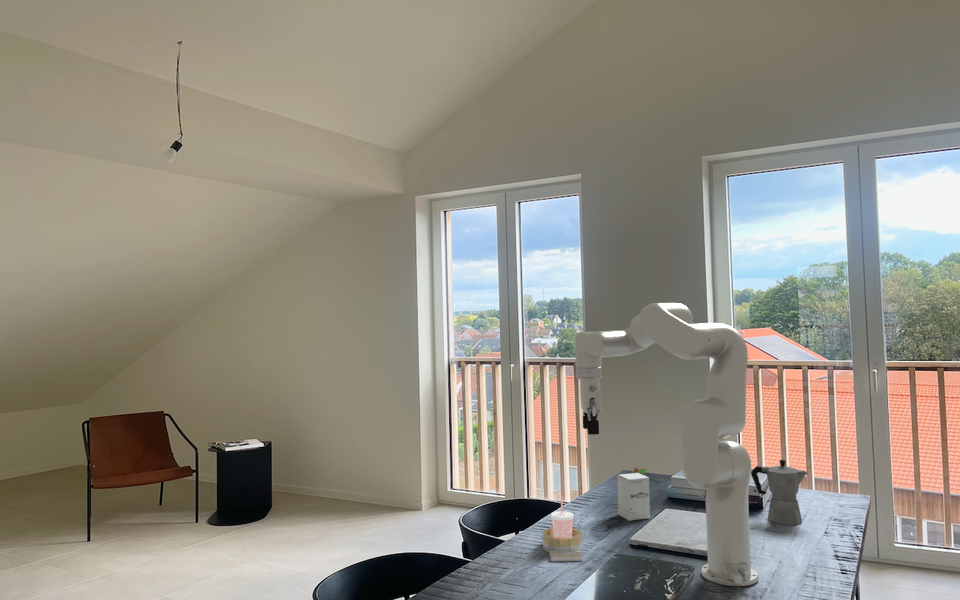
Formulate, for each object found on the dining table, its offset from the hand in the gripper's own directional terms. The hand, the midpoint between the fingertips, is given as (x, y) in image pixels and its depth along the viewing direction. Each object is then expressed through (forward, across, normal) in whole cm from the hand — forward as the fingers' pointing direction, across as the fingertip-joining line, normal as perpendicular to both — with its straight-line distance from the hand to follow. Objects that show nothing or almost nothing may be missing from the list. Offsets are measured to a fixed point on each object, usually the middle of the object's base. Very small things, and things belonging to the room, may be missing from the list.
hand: (590, 431), depth 195 cm
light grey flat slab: (+28, -18, +11) cm, 36 cm away
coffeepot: (+28, +3, -56) cm, 63 cm away
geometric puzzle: (+29, +46, -24) cm, 59 cm away
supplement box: (+29, +10, -14) cm, 33 cm away
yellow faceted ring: (+28, -14, +11) cm, 33 cm away
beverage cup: (+28, -16, +11) cm, 34 cm away
